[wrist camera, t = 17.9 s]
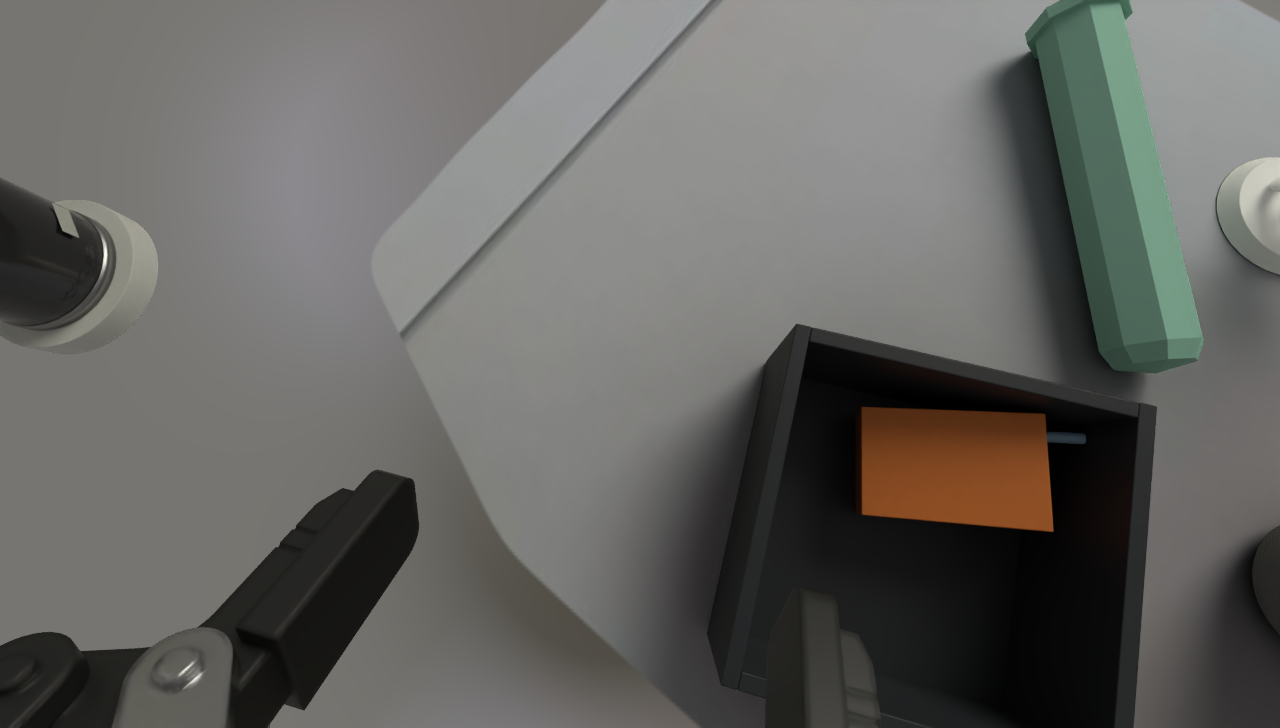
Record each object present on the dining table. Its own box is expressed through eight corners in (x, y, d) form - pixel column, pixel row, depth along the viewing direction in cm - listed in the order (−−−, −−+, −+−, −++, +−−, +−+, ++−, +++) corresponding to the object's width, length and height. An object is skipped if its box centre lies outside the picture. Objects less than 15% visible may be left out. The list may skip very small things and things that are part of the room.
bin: (706, 634, 34) (720, 685, 25) (766, 360, 37) (796, 323, 29) (1004, 720, 32) (1128, 806, 24) (1038, 425, 36) (1157, 406, 27)
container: (1249, 358, 30) (1147, -34, 35) (1111, 371, 32) (1033, 3, 37) (1196, 374, 35) (1114, 32, 40) (1081, 384, 37) (1017, 60, 42)
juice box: (861, 514, 30) (1111, 537, 27) (861, 406, 32) (1100, 415, 28) (855, 512, 34) (1074, 532, 31) (855, 415, 35) (1066, 424, 32)
